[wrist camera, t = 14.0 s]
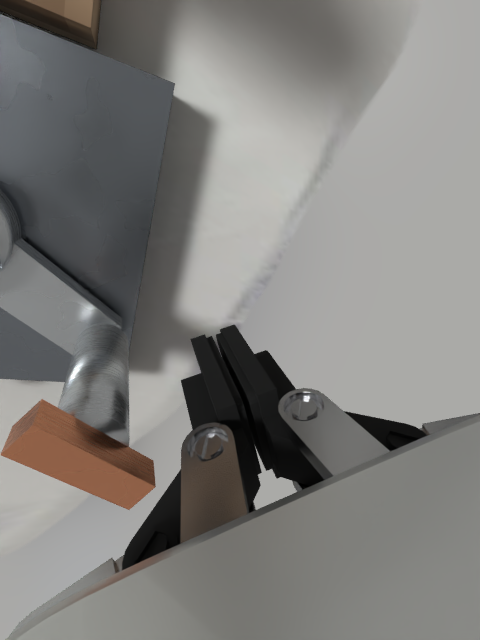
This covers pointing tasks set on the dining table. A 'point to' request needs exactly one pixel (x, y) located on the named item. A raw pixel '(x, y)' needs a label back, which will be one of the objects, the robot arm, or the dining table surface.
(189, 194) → the dining table surface
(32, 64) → the crank base
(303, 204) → the dining table surface
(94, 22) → the tray
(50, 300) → the crank
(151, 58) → the dining table surface
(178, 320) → the dining table surface
